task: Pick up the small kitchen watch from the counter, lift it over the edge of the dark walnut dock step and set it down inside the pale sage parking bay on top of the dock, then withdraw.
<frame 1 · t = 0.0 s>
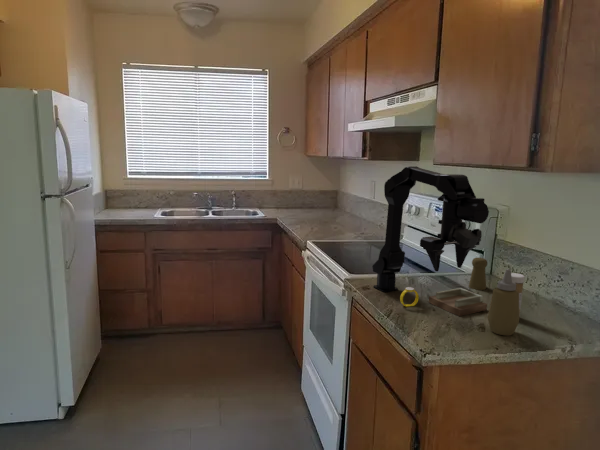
hand: (448, 269, 133), 15 cm above the countertop, tool pointing down, fingers open, 9 cm apart
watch: (408, 306, 144), on the countertop
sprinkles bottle: (511, 317, 136), on the countertop
squeeze bottle: (501, 332, 125), on the countertop
dock: (457, 306, 144), on the countertop
wooden pepper mill: (477, 287, 164), on the countertop
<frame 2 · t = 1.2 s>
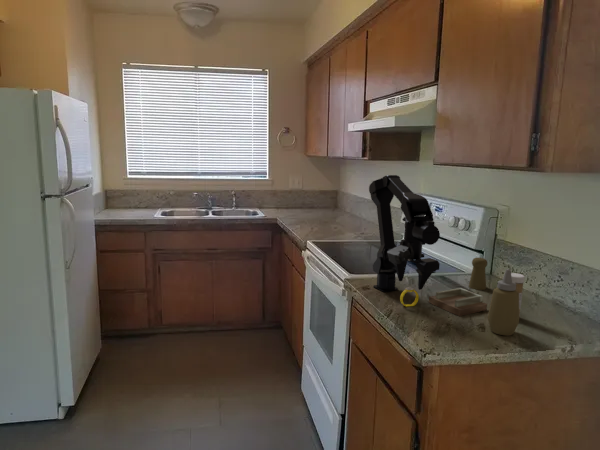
hand: (410, 285, 143), 7 cm above the countertop, tool pointing down, fingers open, 9 cm apart
nothing on the countertop moved.
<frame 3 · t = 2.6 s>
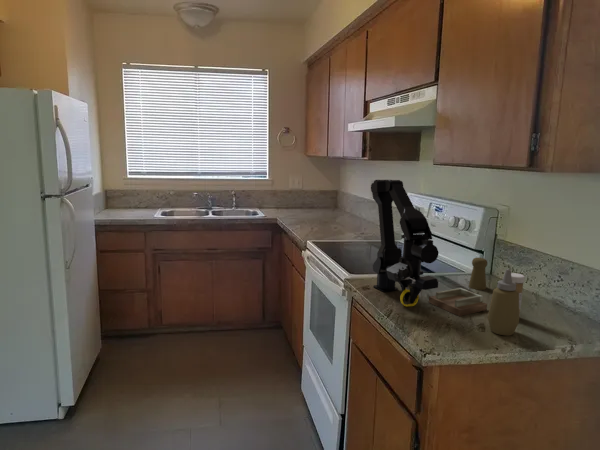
hand: (409, 302, 144), 1 cm above the countertop, tool pointing down, fingers closed on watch, 2 cm apart
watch: (408, 306, 144), on the countertop, touching gripper
everything else where it was.
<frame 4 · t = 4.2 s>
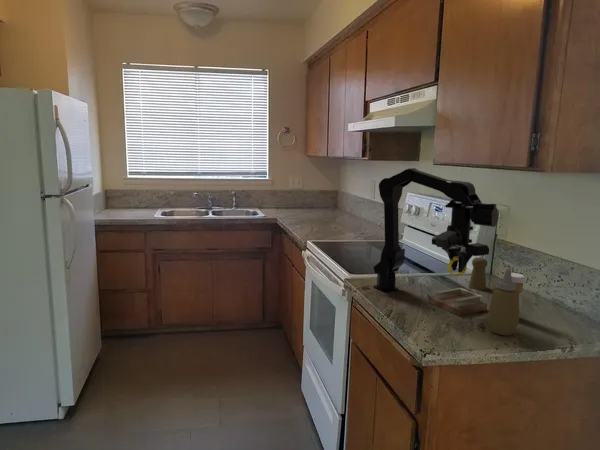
hand: (457, 271, 142), 12 cm above the countertop, tool pointing down, fingers closed on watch, 2 cm apart
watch: (456, 275, 142), point 10 cm above the countertop, touching gripper
everything else where it was.
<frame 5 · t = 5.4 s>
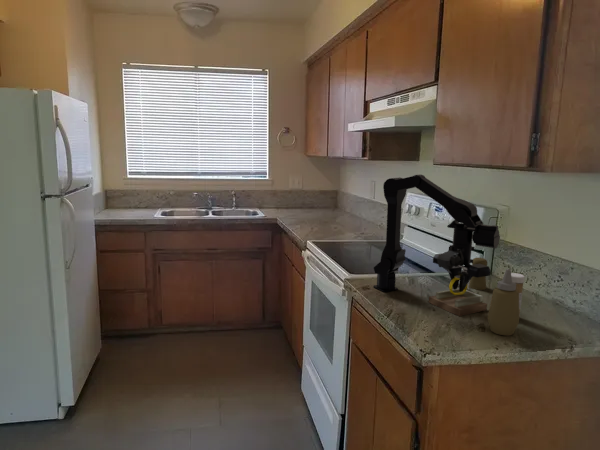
hand: (458, 290, 144), 5 cm above the countertop, tool pointing down, fingers closed on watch, 2 cm apart
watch: (457, 294, 144), point 4 cm above the countertop, touching gripper
everything else where it was.
when the fingers open (4 cm above the countertop, at t = 6.1 s): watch drops 1 cm, resting on dock.
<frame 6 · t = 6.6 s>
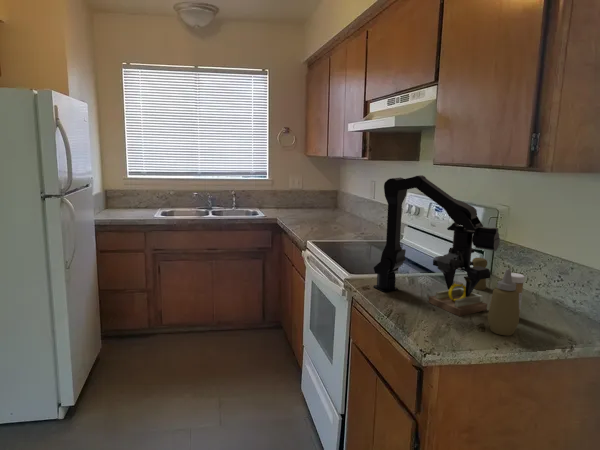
hand: (458, 292, 144), 4 cm above the countertop, tool pointing down, fingers open, 7 cm apart
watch: (457, 300, 144), point 2 cm above the countertop, touching dock
everything else where it was.
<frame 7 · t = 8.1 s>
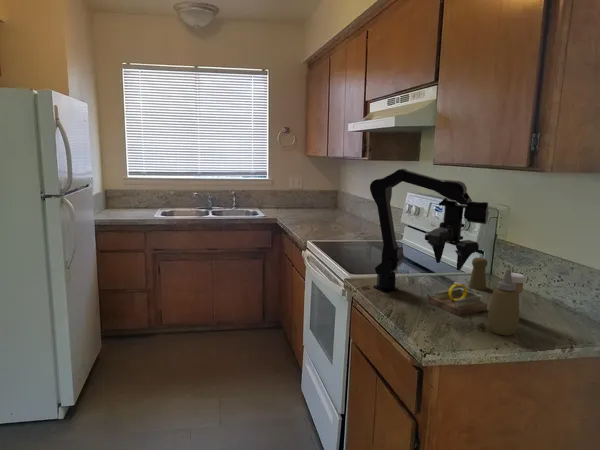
hand: (447, 266, 148), 12 cm above the countertop, tool pointing down, fingers open, 9 cm apart
nothing on the countertop moved.
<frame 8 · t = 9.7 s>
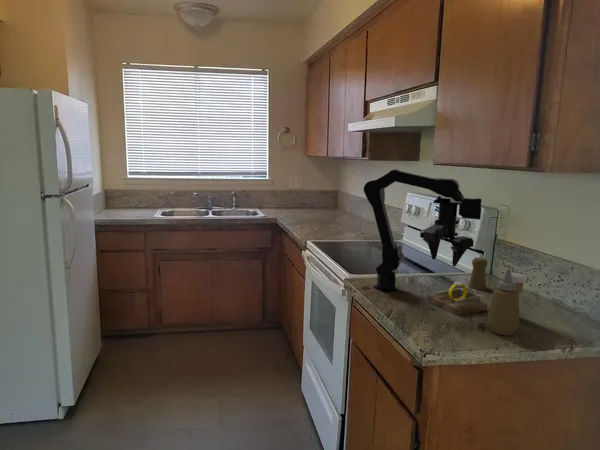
hand: (443, 262, 151), 12 cm above the countertop, tool pointing down, fingers open, 9 cm apart
nothing on the countertop moved.
at the end: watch inside the target area on the dock (0.2 cm from its centre), point 1.8 cm above the dock's base; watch tilted 0°; the gripper is holding nothing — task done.
